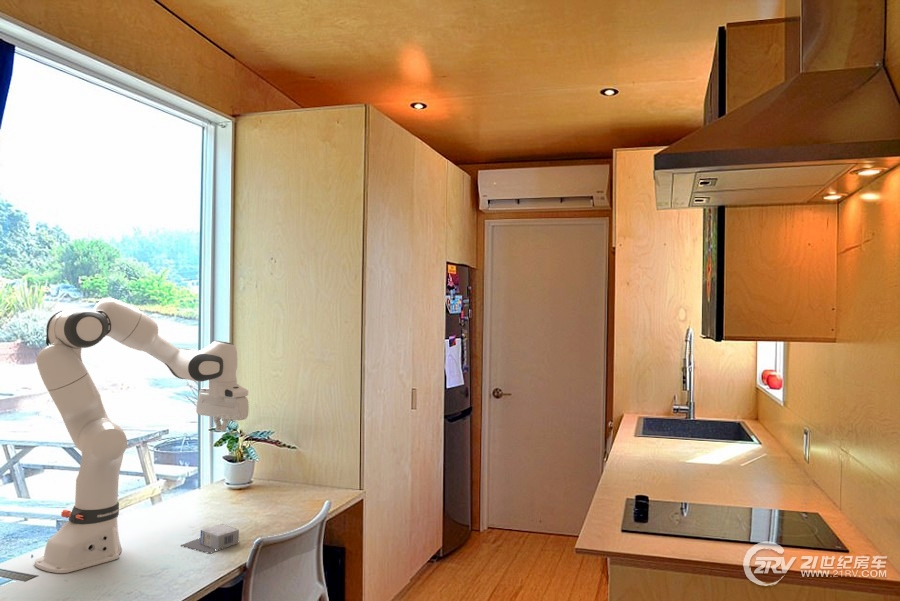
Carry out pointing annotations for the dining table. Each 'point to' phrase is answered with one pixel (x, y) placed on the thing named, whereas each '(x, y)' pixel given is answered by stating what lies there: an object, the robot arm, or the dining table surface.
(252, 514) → the dining table surface
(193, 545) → the mat
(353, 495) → the dining table surface
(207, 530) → the medicine box
